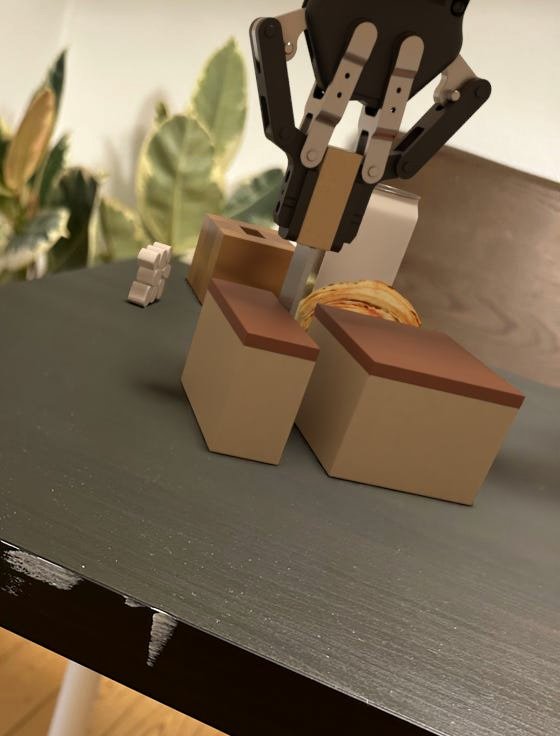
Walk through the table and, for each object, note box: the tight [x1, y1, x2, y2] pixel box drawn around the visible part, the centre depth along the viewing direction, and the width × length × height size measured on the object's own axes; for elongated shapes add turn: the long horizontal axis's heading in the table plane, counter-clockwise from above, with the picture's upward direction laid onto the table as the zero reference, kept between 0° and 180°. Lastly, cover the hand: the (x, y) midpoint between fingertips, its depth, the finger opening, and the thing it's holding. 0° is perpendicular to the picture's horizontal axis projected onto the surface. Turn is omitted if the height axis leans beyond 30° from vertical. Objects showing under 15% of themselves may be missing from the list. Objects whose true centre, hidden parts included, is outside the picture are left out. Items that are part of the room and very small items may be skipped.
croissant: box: [294, 279, 423, 333], centre depth 73 cm, size 21×10×8 cm, turn 163°
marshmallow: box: [127, 241, 174, 308], centre depth 78 cm, size 5×1×4 cm, turn 156°
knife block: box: [186, 212, 296, 306], centre depth 86 cm, size 7×10×6 cm
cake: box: [294, 303, 526, 506], centre depth 58 cm, size 9×12×7 cm
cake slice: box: [180, 278, 320, 466], centre depth 56 cm, size 4×12×7 cm, turn 2°
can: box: [311, 183, 422, 293], centre depth 85 cm, size 6×6×12 cm
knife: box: [278, 144, 363, 317], centre depth 56 cm, size 2×3×14 cm, turn 2°
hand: (308, 242), depth 55 cm, fingers closed on knife, 2 cm apart
